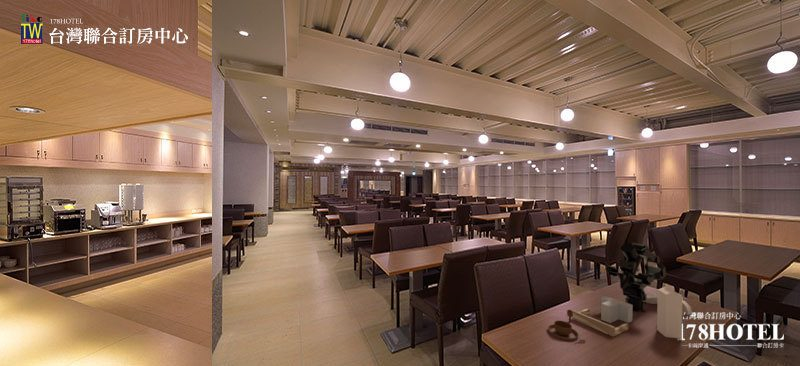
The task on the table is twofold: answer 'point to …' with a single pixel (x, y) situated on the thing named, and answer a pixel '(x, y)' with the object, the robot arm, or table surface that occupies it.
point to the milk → (669, 312)
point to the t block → (615, 310)
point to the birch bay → (598, 323)
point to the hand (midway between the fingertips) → (621, 288)
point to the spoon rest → (653, 299)
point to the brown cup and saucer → (564, 329)
